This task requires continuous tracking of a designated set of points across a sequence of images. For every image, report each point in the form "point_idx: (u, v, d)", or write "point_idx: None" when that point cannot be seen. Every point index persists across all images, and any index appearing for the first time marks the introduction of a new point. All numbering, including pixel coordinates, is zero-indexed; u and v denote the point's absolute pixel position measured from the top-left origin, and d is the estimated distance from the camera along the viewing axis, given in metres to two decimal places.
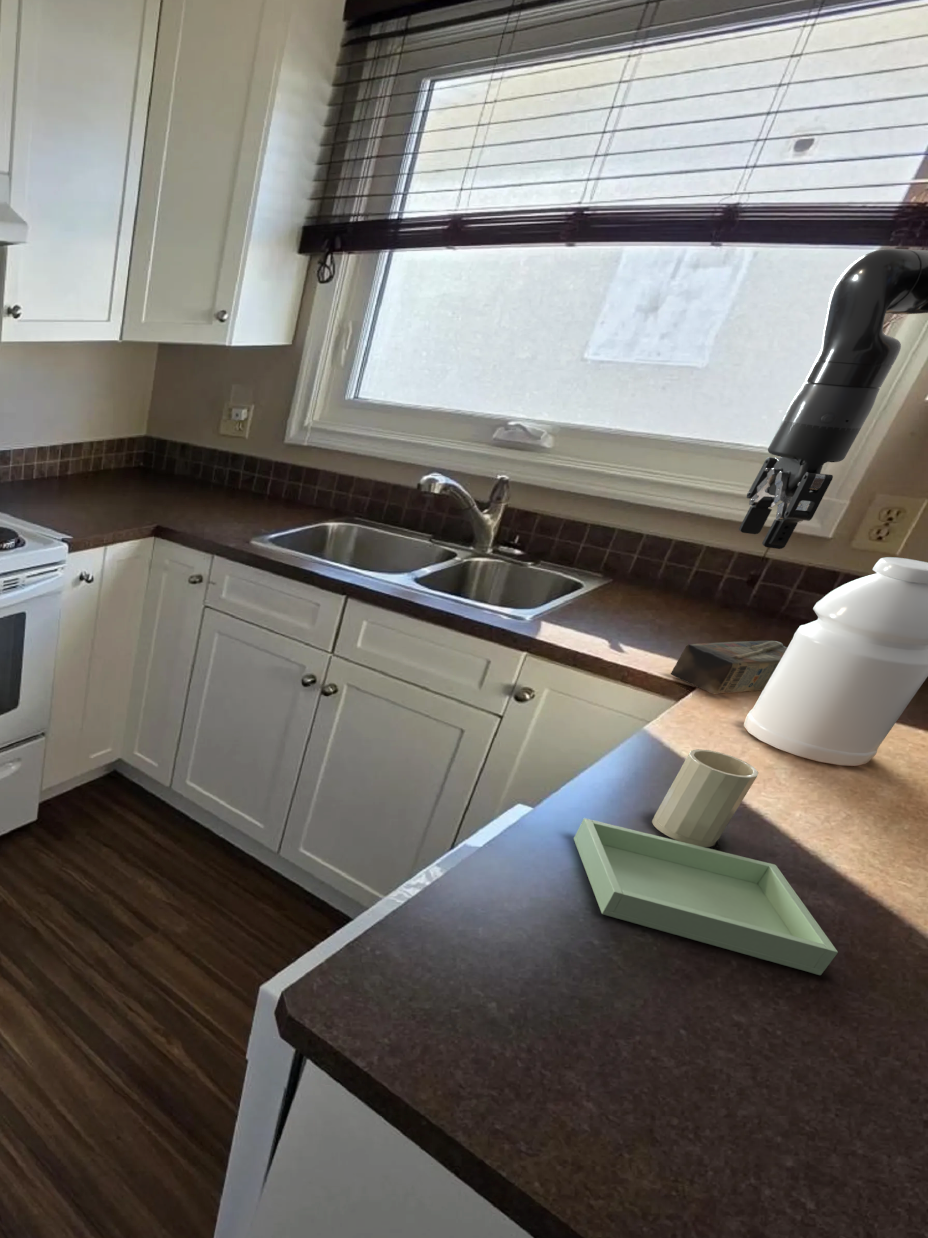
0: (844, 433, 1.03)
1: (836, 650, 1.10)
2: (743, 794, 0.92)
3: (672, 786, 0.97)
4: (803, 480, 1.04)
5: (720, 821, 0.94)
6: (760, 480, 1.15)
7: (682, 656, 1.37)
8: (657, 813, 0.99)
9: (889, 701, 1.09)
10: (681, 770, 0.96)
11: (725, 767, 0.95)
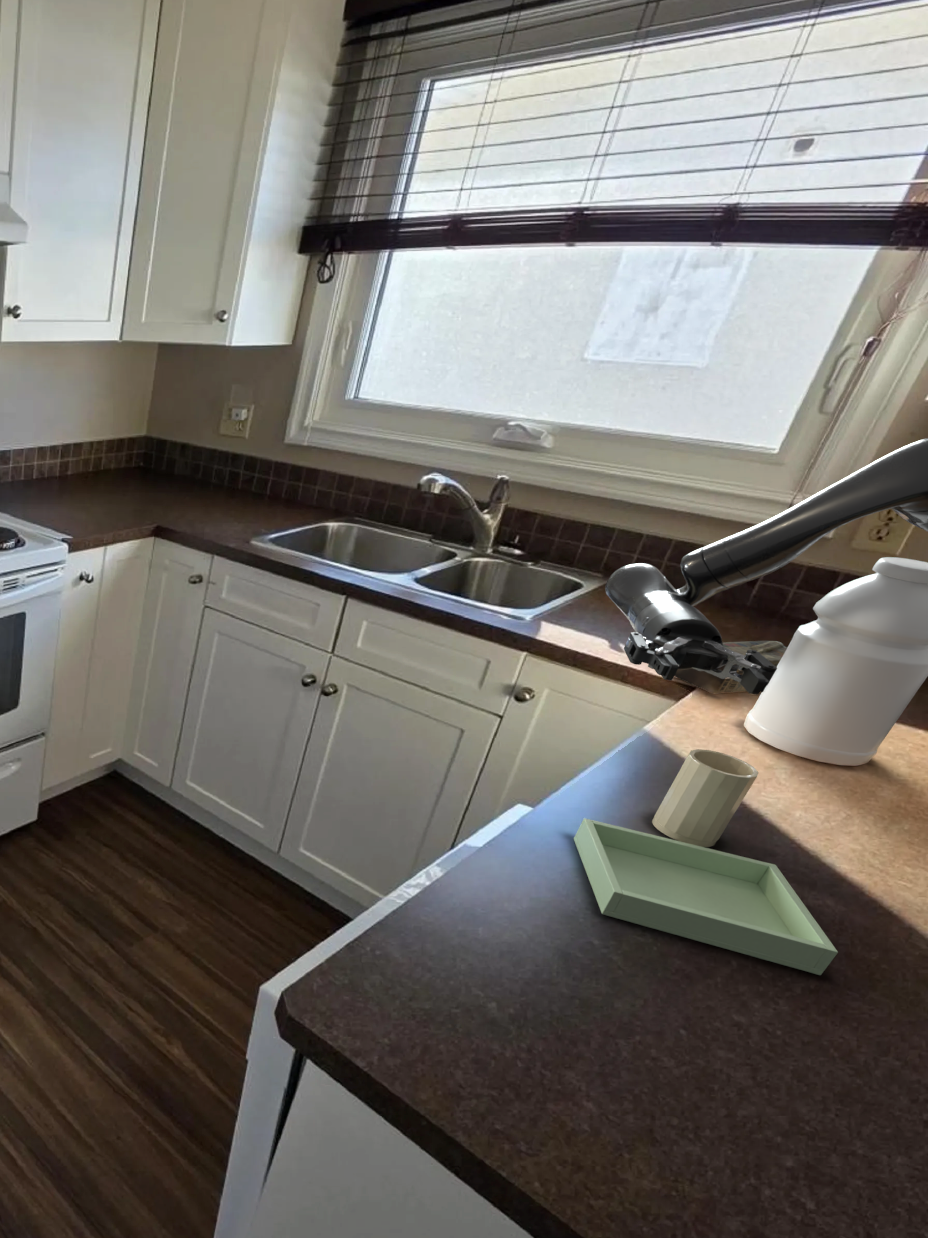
0: None
1: (836, 650, 1.10)
2: (743, 794, 0.92)
3: (672, 786, 0.97)
4: (755, 653, 1.04)
5: (720, 821, 0.94)
6: None
7: None
8: (657, 813, 0.99)
9: (889, 701, 1.09)
10: (681, 770, 0.96)
11: (725, 767, 0.95)
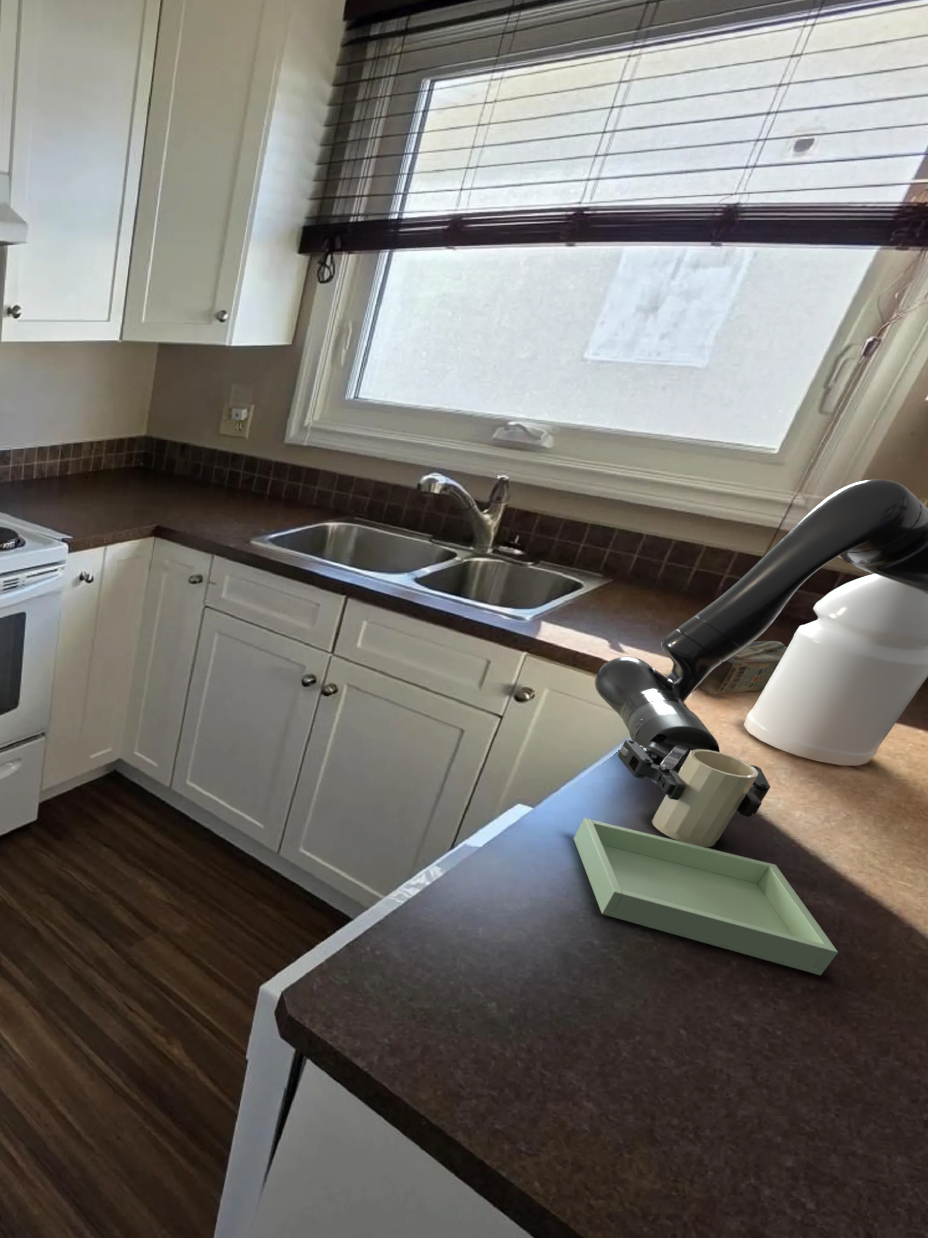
0: None
1: (837, 650, 1.10)
2: (743, 794, 0.92)
3: None
4: None
5: (721, 821, 0.94)
6: None
7: None
8: (657, 813, 0.99)
9: (890, 701, 1.09)
10: (681, 770, 0.96)
11: (725, 767, 0.95)
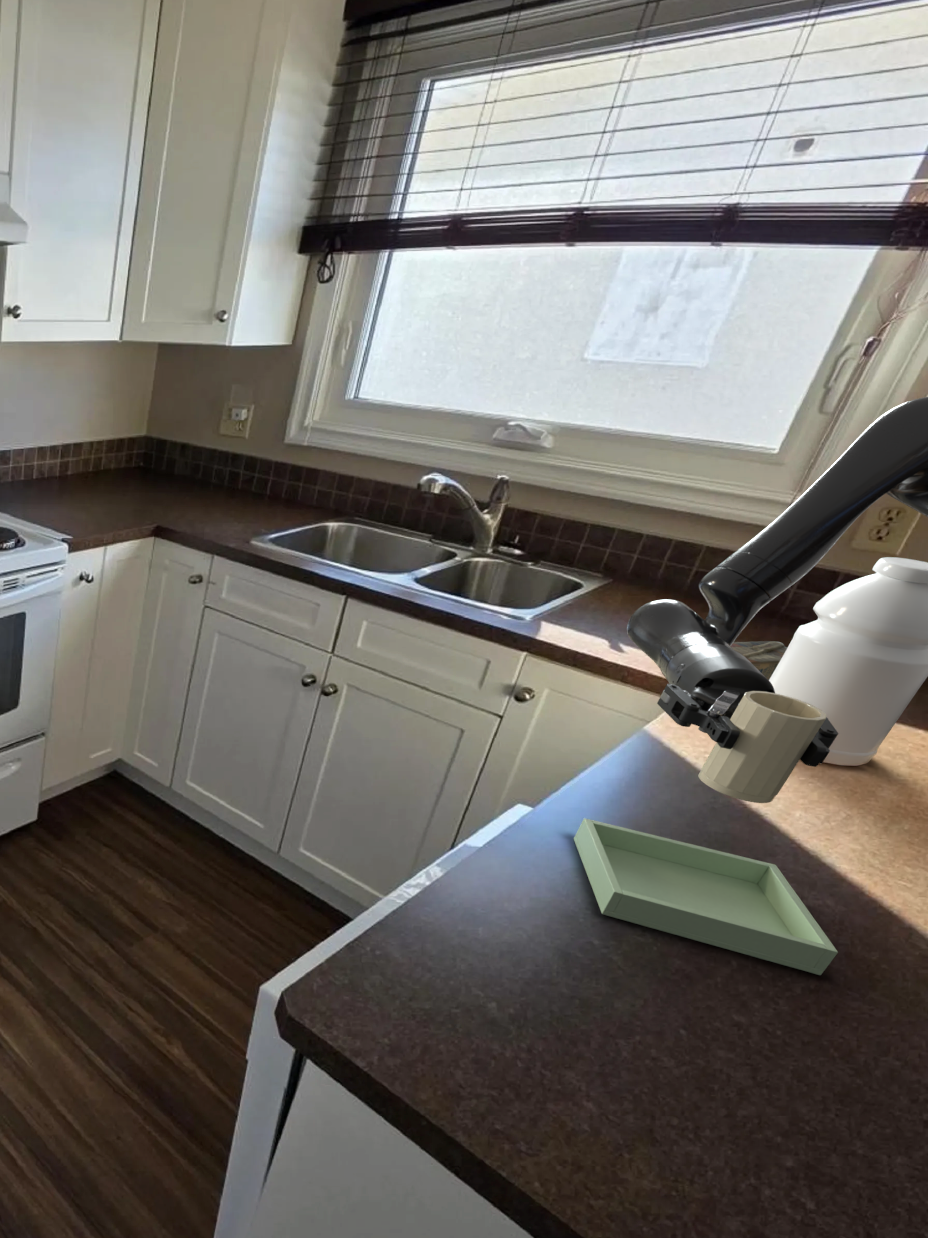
0: None
1: (836, 650, 1.10)
2: (809, 740, 0.79)
3: None
4: None
5: (781, 772, 0.81)
6: None
7: None
8: (705, 766, 0.86)
9: (890, 701, 1.09)
10: (735, 715, 0.83)
11: (786, 711, 0.83)
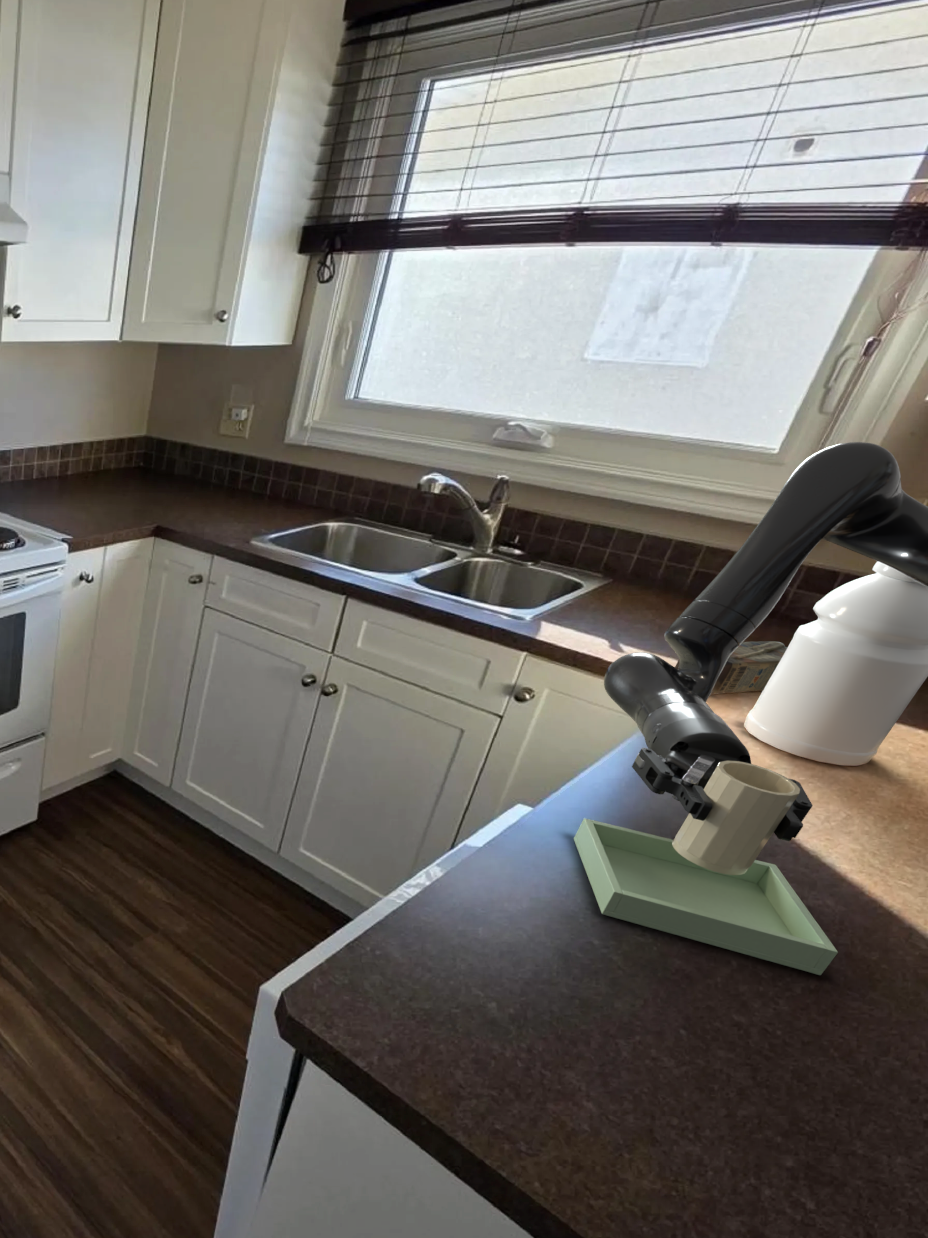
0: None
1: (836, 650, 1.10)
2: (782, 814, 0.78)
3: None
4: None
5: (754, 846, 0.80)
6: None
7: None
8: (678, 834, 0.85)
9: (890, 701, 1.09)
10: (708, 785, 0.82)
11: (760, 782, 0.81)
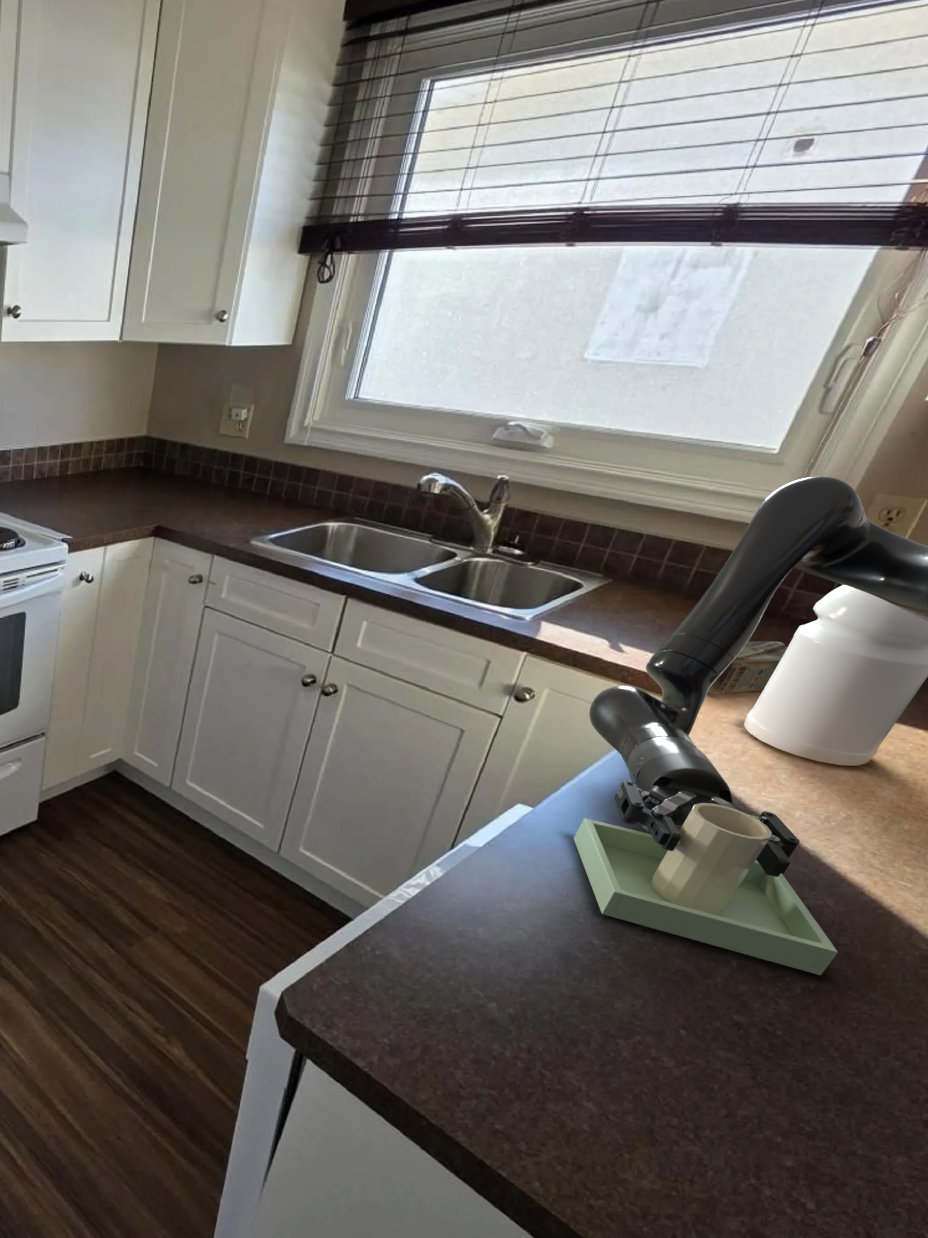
0: None
1: (836, 650, 1.10)
2: (754, 857, 0.80)
3: None
4: (771, 816, 0.86)
5: (728, 887, 0.82)
6: None
7: None
8: (656, 874, 0.87)
9: (890, 701, 1.09)
10: (684, 827, 0.84)
11: (733, 824, 0.84)
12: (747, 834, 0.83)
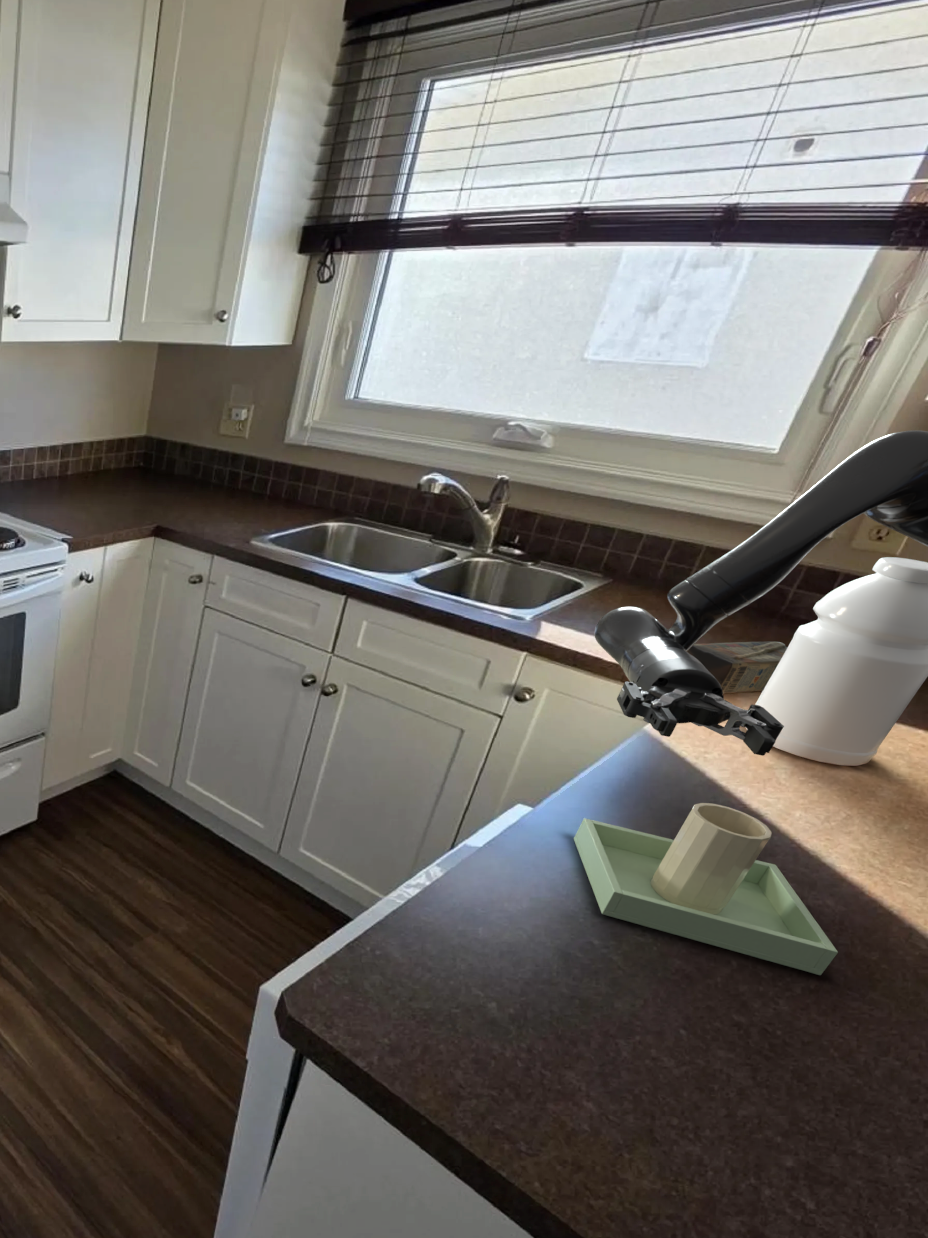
0: None
1: (836, 650, 1.10)
2: (754, 857, 0.80)
3: (672, 845, 0.85)
4: (759, 708, 0.96)
5: (728, 887, 0.82)
6: None
7: None
8: (656, 874, 0.87)
9: (890, 701, 1.09)
10: (684, 827, 0.84)
11: (733, 824, 0.84)
12: (747, 834, 0.83)
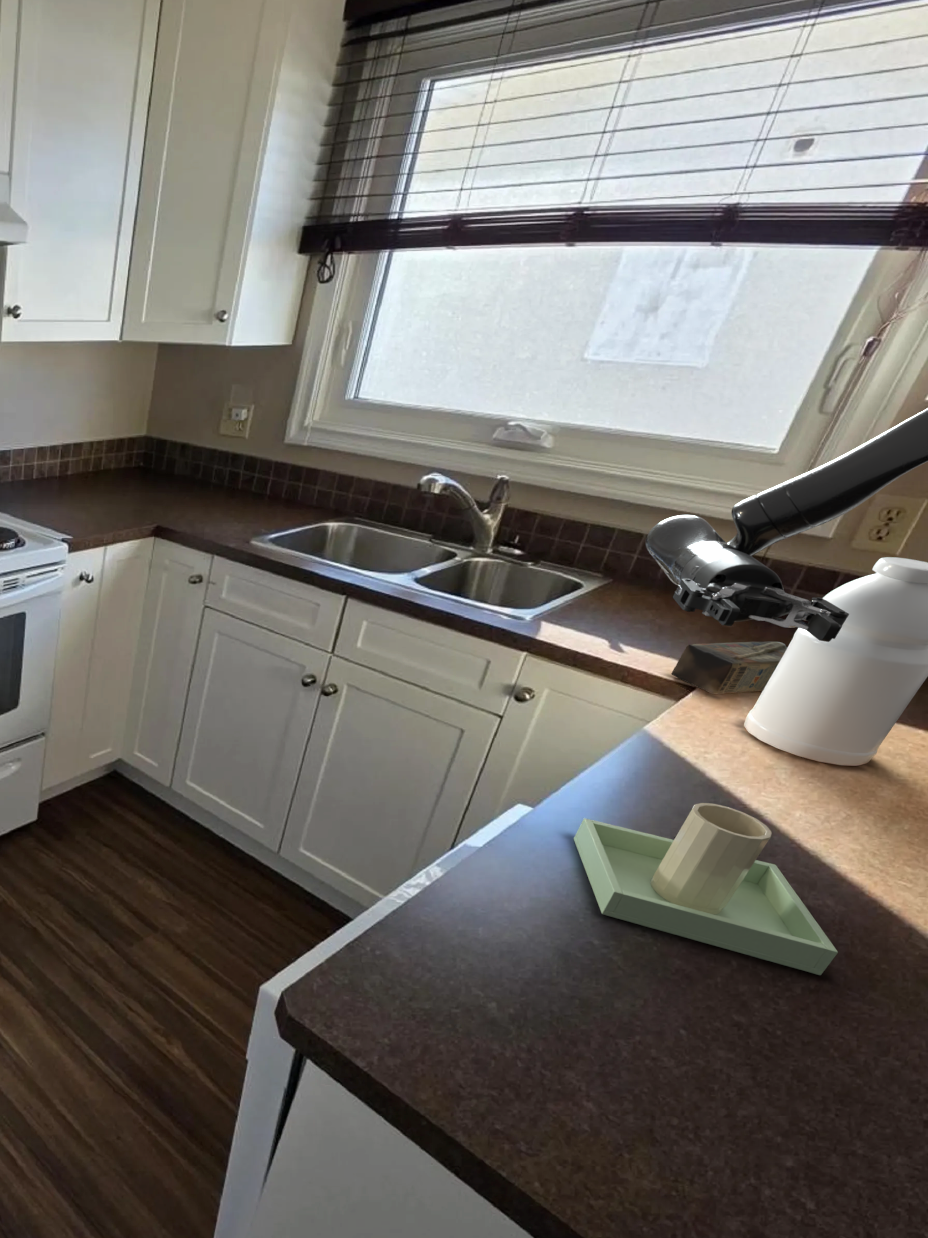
0: None
1: (836, 650, 1.10)
2: (754, 857, 0.80)
3: (672, 845, 0.85)
4: (821, 600, 0.94)
5: (728, 887, 0.82)
6: None
7: (682, 656, 1.37)
8: (656, 874, 0.87)
9: (890, 701, 1.09)
10: (684, 827, 0.84)
11: (733, 824, 0.84)
12: (747, 834, 0.83)
